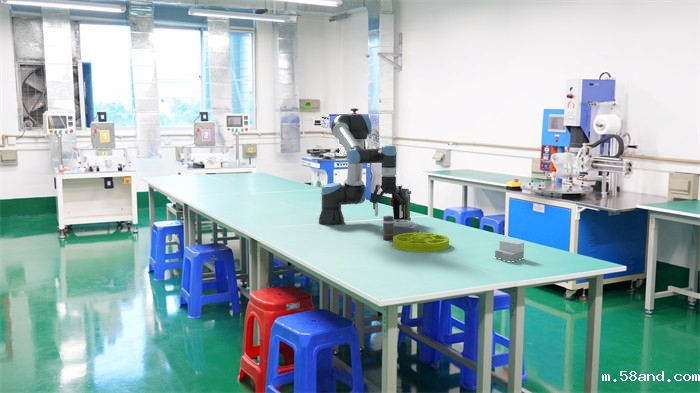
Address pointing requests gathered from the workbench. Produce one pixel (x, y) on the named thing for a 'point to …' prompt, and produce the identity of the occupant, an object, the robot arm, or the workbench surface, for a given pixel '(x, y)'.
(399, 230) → the plate with octagonal ring
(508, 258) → the foam block
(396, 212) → the electrical component
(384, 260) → the workbench surface
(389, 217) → the lens
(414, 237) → the pulley
